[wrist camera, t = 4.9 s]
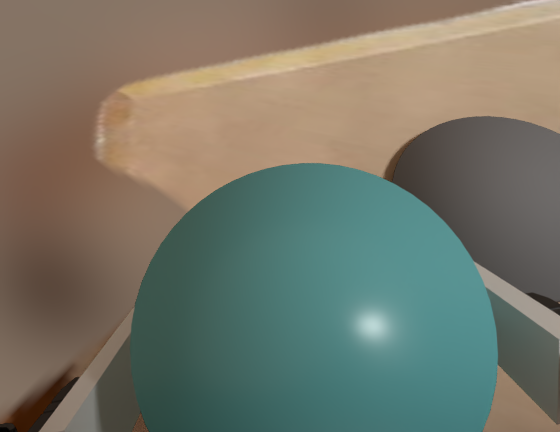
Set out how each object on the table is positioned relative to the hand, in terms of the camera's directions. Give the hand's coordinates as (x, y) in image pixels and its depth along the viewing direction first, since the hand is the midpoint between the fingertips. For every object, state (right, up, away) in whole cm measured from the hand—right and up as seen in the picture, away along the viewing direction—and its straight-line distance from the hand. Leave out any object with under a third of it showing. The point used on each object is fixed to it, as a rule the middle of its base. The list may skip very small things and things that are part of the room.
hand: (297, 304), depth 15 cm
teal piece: (+1, -4, +4) cm, 5 cm away
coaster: (+14, +5, +7) cm, 16 cm away
